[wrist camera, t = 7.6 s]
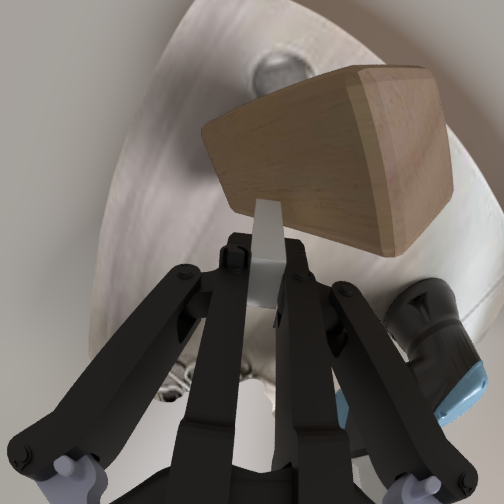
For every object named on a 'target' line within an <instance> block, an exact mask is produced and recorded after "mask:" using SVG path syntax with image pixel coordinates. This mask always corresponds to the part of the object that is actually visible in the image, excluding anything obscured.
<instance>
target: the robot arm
mask: <svg viewBox="0 0 504 504" xmlns="http://www.w3.org/2000/svg"><path fill="white" fill-rule="evenodd" d="M277 305H278V309H277V313H276V317H275V321H274V325H273V328H275V327H276V403H275V451H274V455H273V459H272V467H271V468H272V469H271V472H266V473H257V472H254V471H250V470H247V469H244V468H241V467H237V466H234V465H232V458H233V447H234V436H235V419H236V409H237V399H238V387H239V378H240V368H241V357H242V347H243V337H244V326H245V316H246V306H253V307H262V308H272V309H276V306H277ZM206 317H207V318H206ZM201 318H206V322H205V326H204V330H203V334H202V339H201V343H200V347H199V352H198V356H197V361H196V365H195V369H194V374H193V378H192V383H191V388H190V392H189V397H188V402H187V407H186V411H185V415H184V418H183V419H182V420H181V422H180V424H179V427H178V431H177V436H176V441H175V446H174V451H173V456H172V461H171V466H170V467H167V468H164V469H162V470H160V471H158V472H156V473H155V474H154V475H152V476H151V477H149V478H148V479H146V480H145V481H144V482H142V483H141V484H139V485H138V486H136V487H135V488H133V489H132V490H130V491H129V492H127V493H126V494H124V495H123V496H121V497H119V498H118V499H116V500H114V501H113V502H111V503H110V504H452V503H455V502H457V501H460V500H463V499H465V498H467V497H469V496H471V494H472V493H473V492H474V491H475V489H476V486H477V483H478V474H477V471H476V469H475V468H474V466H473V465H472V464H471V463H470V462H469V461H468V460H467V459H466V458H465V457H464V456H463V455H462V454H461V453H460V452H459V451H458V450H457V449H456V448H455V447H454V446H453V445H452V444H451V443H450V442H449V441H448V440H447V439H446V437H445V435H444V433H443V431H442V429H441V426H445V425H446V424H448V423H450V422H452V421H453V420H455V419H456V418H458V417H459V416H461V415H462V414H463V413H465V412H466V411H467V410H468V409H470V408H471V407H472V406H473V405H474V404H475V403H476V402H477V401H478V400H479V399H480V398H481V397H482V395H483V394H484V393H485V391H486V389H487V387H488V377H487V374H486V371H485V369H484V366H483V361H482V360H481V359H480V357H479V355H478V353H477V351H476V349H475V347H474V345H473V343H472V341H471V339H470V337H469V336H468V334H467V332H466V330H465V328H464V327H463V325H462V323H461V321H460V319H459V314H458V309H457V305H456V300H455V295H454V293H453V291H452V289H451V288H450V286H449V285H448V284H447V283H446V282H445V281H443V280H441V279H428V280H424V281H421V282H419V283H417V284H415V285H413V286H411V287H409V288H408V289H407V290H405V291H404V292H403V293H402V294H401V295H399V296H398V297H397V299H396V300H395V301H394V302H393V303H392V305H391V306H390V308H389V310H388V312H387V315H386V326H387V329H388V331H389V334H390V336H391V337H392V339H393V340H395V341H396V342H397V343H398V345H399V346H400V347H401V348H402V349H403V351H404V352H405V353H406V354H407V356H408V359H409V362H406V363H405V361H404V360H403V358H402V356H401V355H400V353H399V351H398V350H397V348H396V346H395V345H394V343H393V341H392V340H391V338H390V337H389V335H388V333H387V332H386V330H385V329H384V327H383V326H382V324H381V322H380V321H379V319H378V318H377V316H376V315H375V313H374V312H373V310H372V309H371V307H370V306H369V304H368V303H367V301H366V300H365V298H364V297H363V295H362V294H361V292H360V291H359V289H358V288H357V287H356V286H354V285H353V284H351V283H349V282H346V281H338V282H335V283H334V284H333V285H332V287H329V286H326V285H323V284H321V283H319V282H317V281H316V279H315V276H314V274H313V273H312V272H310V271H309V267H308V262H307V257H306V252H305V247H304V244H303V243H302V242H301V241H300V240H298V239H290V238H284V230H283V220H282V211H281V202H279V201H272V200H264V199H256V207H255V215H254V223H253V231H252V234H245V233H236V232H234V233H232V234H231V235H230V236H229V238H228V242H227V245H225V246H224V247H222V248H221V250H220V259H219V268H218V269H216V270H213V271H210V272H201V271H200V269H199V268H198V267H197V266H194V265H192V264H180V265H177V266H175V267H173V268H172V269H171V270H170V271H169V272H168V273H167V274H166V276H165V277H164V278H163V279H162V280H161V281H160V282H159V283H158V284H157V285H156V287H155V288H154V289H153V290H152V291H151V292H150V293H149V294H148V296H147V297H146V298H145V299H144V300H143V301H142V302H141V303H140V305H139V306H138V307H137V308H136V309H135V310H134V311H133V313H132V314H131V315H130V316H129V317H128V318H127V320H126V321H125V322H124V323H123V324H122V325H121V327H120V328H119V329H118V330H117V331H116V333H115V334H114V335H113V336H112V337H111V339H110V340H109V341H108V342H107V343H106V345H105V346H104V347H103V348H102V349H101V351H100V352H99V353H98V354H97V355H96V357H95V358H94V359H93V360H92V362H91V363H90V364H89V365H88V367H87V368H86V369H85V371H84V372H83V373H82V374H81V376H80V377H79V378H78V379H77V381H76V382H75V383H74V385H73V386H72V387H71V388H70V390H69V391H68V392H67V394H66V395H65V396H64V398H63V399H62V400H61V402H60V403H59V404H58V406H57V407H56V408H55V410H54V411H53V412H51V413H50V414H48V415H47V416H45V417H44V418H42V419H40V420H39V421H37V422H36V423H35V424H33V425H31V426H30V427H28V428H26V429H25V430H23V431H22V432H20V433H19V434H17V435H16V436H14V437H13V438H12V439H11V440H10V441H9V444H8V447H7V456H8V458H9V462H10V464H11V465H12V466H13V468H14V469H15V470H16V471H17V472H19V473H20V474H22V475H24V476H26V477H29V478H31V479H33V480H34V481H35V482H36V483H37V484H38V486H39V488H40V489H41V491H42V492H43V494H44V495H45V497H46V498H47V500H48V501H49V502H50V504H100V498H101V495H102V494H103V493H104V491H105V490H106V488H107V485H108V478H107V475H106V472H105V471H104V470H105V469H106V468H107V467H108V466H109V465H110V464H111V463H112V462H113V461H114V460H115V459H116V457H117V456H118V455H119V453H120V452H121V450H122V449H123V447H124V446H125V444H126V442H127V440H128V439H129V437H130V436H131V434H132V432H133V431H134V429H135V427H136V426H137V424H138V422H139V421H140V419H141V417H142V416H143V414H144V413H145V411H146V409H147V408H148V406H149V404H150V403H151V401H152V399H153V398H154V396H155V395H156V393H157V391H158V390H159V388H160V386H161V385H162V383H163V381H164V380H165V378H166V377H167V375H168V373H169V372H170V370H171V368H172V367H173V365H174V364H175V362H176V360H177V359H178V357H179V355H180V354H181V352H182V351H183V349H184V347H185V346H186V344H187V342H188V341H189V339H190V338H191V336H192V334H193V333H194V331H195V330H196V328H197V326H198V325H199V323H200V321H201ZM331 367H332V368H331ZM332 369H333V371H334V373H335V376H336V378H337V380H338V383H339V385H340V387H341V389H339V390H338V391H337V392H336V393H335V389H334V382H333V375H332ZM352 463H353V464H355V465H356V466H357V467H358V468H359V475H360V481H361V487H362V490H361V489H360V488H359V487H358V486H357V485H356V484H355V483H354V482H353V473H352Z"/></svg>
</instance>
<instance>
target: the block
mask: <svg viewBox="0 0 504 504" xmlns="http://www.w3.org/2000/svg"><path fill="white" fill-rule="evenodd" d="M201 136H202V139H203V141H204V144H205V146H206V149H207V151H208V154H209V156H210V159H211V161H212V163H213V166H214V168H215V171H216V173H217V176H218V178H219V181H220V183H221V186H222V188H223V191H224V193H225V196H226V198H227V201H228V203H229V206H230V208H231V209H232V210H233V211H234V212H235V213H239V214H243V215H246V216H250V217H254V215H255V207H256V199H264V200H272V201H279V202H281V211H282V220H283V226H285V227H289V228H292V229H296V230H299V231H302V232H306V233H309V234H312V235H316V236H319V237H322V238H326V239H329V240H332V241H335V242H339V243H342V244H345V245H348V246H351V247H355V248H358V249H361V250H364V251H367V252H370V253H373V254H376V255H379V256H382V257H385V258H386V257H397V256H399V255H402V254H403V253H404V252H405V251H406V250H407V249H408V248H409V247H410V246H411V245H412V244H413V243H414V241H415V240H416V239H417V238H418V237H419V236H420V235H421V234H422V233H423V231H424V230H425V229H426V228H427V227H428V226H429V225H430V223H431V222H432V221H433V220H434V219H435V218H436V216H437V215H438V214H439V213H440V212H441V210H442V209H443V208H444V207H445V206H446V204H447V203H448V202H449V201H450V199H451V197H452V194H453V191H454V189H453V175H452V164H451V156H450V148H449V141H448V135H447V129H446V123H445V118H444V114H443V109H442V104H441V100H440V96H439V92H438V88H437V85H436V81H435V78H434V77H433V75H432V74H431V72H430V71H429V70H428V69H426V68H423V67H420V66H410V65H351V66H348V67H344V68H341V69H337V70H334V71H331V72H328V73H324V74H321V75H318V76H315V77H312V78H309V79H307V80H304V81H301V82H298V83H296V84H293V85H290V86H288V87H285V88H282V89H280V90H277V91H275V92H273V93H270V94H268V95H265V96H263V97H261V98H258V99H256V100H254V101H252V102H249V103H247V104H245V105H243V106H241V107H238V108H236V109H234V110H232V111H230V112H228V113H226V114H224V115H222V116H220V117H218V118H216V119H214V120H212V121H210V122H208V123H207V124H206V125H204V126H203V127H202V128H201Z"/></svg>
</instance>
